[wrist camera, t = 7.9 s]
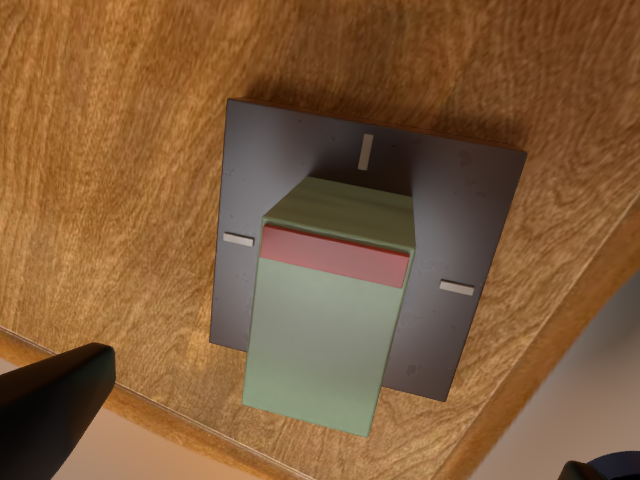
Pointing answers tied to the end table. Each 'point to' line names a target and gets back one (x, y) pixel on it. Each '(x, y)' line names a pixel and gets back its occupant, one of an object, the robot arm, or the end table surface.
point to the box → (328, 302)
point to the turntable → (379, 174)
